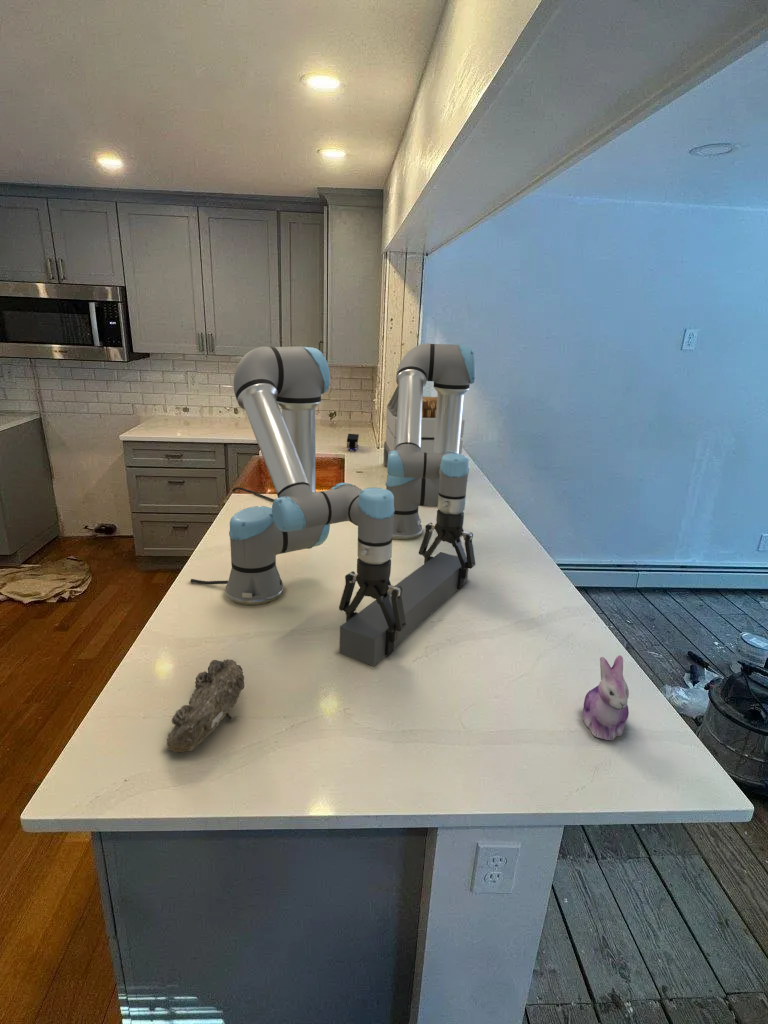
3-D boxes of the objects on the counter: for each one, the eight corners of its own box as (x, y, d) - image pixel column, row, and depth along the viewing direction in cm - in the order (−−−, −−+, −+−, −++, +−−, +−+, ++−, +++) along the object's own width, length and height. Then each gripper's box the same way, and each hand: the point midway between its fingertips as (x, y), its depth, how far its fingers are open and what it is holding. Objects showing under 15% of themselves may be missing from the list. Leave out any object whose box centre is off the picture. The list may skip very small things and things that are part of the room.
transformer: (382, 463, 289) (386, 382, 275) (445, 464, 293) (451, 384, 279) (390, 482, 257) (394, 392, 243) (460, 483, 261) (468, 394, 247)
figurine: (608, 750, 104) (623, 681, 99) (567, 715, 113) (579, 651, 107) (643, 734, 108) (659, 668, 103) (601, 702, 117) (614, 640, 112)
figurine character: (358, 454, 309) (358, 445, 322) (358, 441, 305) (359, 432, 319) (345, 454, 308) (347, 445, 322) (346, 441, 305) (347, 432, 319)
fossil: (192, 660, 117) (244, 628, 112) (224, 691, 120) (276, 661, 115) (142, 746, 98) (202, 712, 93) (182, 779, 101) (242, 748, 96)
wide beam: (438, 572, 172) (440, 551, 169) (467, 581, 167) (469, 559, 165) (339, 652, 130) (339, 626, 127) (373, 666, 125) (375, 639, 123)
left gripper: (323, 551, 127) (323, 637, 135) (409, 577, 116) (403, 669, 124) (343, 541, 133) (341, 624, 141) (426, 565, 123) (420, 653, 130)
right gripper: (409, 505, 159) (404, 577, 167) (483, 522, 149) (474, 598, 156) (421, 498, 165) (416, 568, 173) (493, 515, 155) (484, 588, 162)
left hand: (370, 645), depth 132 cm, fingers closed on wide beam, 9 cm apart
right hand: (444, 582), depth 164 cm, fingers closed on wide beam, 9 cm apart
